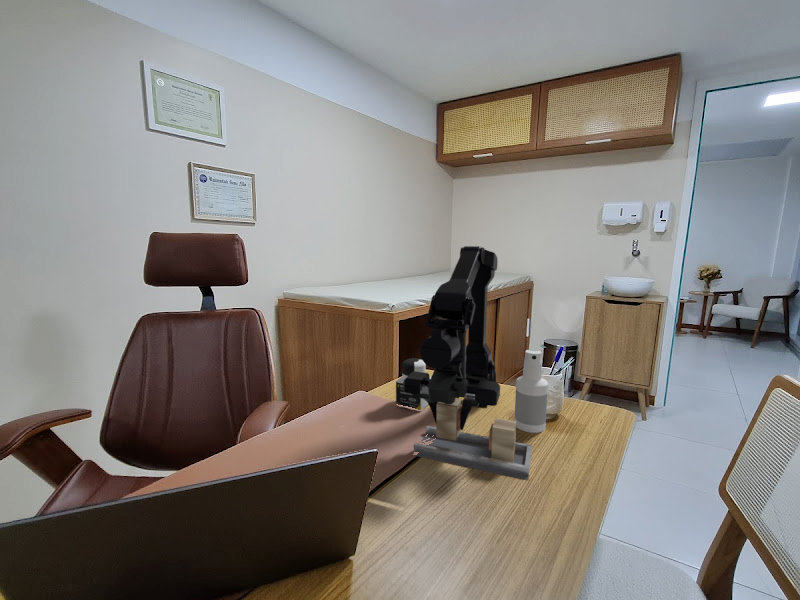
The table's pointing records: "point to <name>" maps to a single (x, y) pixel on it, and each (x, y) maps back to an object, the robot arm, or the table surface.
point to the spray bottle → (531, 395)
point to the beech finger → (449, 420)
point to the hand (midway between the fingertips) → (450, 427)
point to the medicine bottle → (401, 396)
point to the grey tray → (474, 458)
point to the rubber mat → (470, 449)
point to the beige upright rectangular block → (502, 440)
